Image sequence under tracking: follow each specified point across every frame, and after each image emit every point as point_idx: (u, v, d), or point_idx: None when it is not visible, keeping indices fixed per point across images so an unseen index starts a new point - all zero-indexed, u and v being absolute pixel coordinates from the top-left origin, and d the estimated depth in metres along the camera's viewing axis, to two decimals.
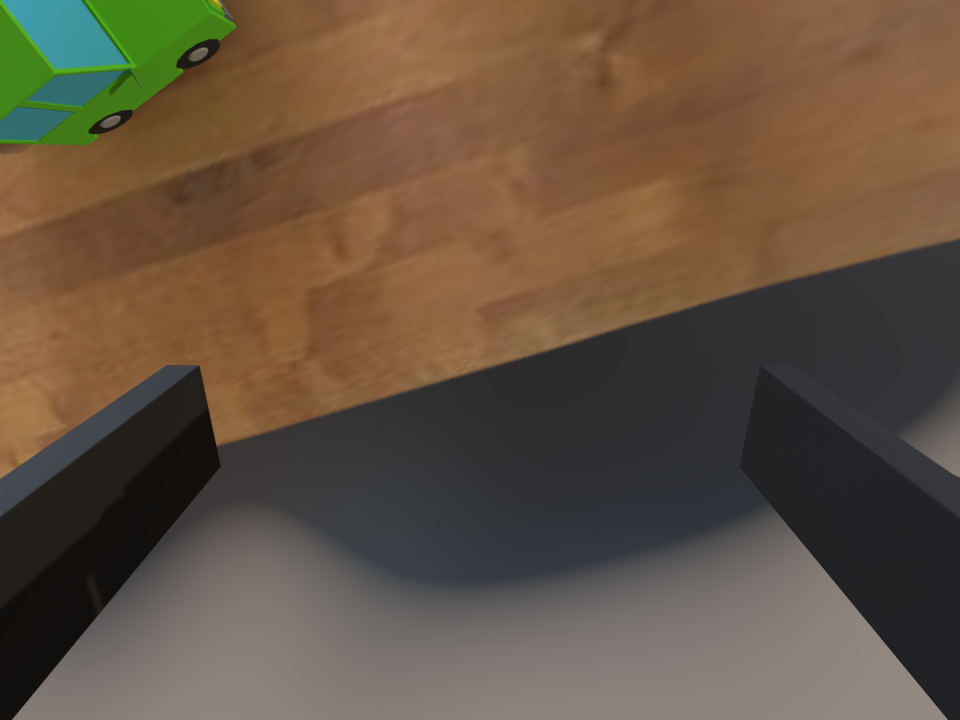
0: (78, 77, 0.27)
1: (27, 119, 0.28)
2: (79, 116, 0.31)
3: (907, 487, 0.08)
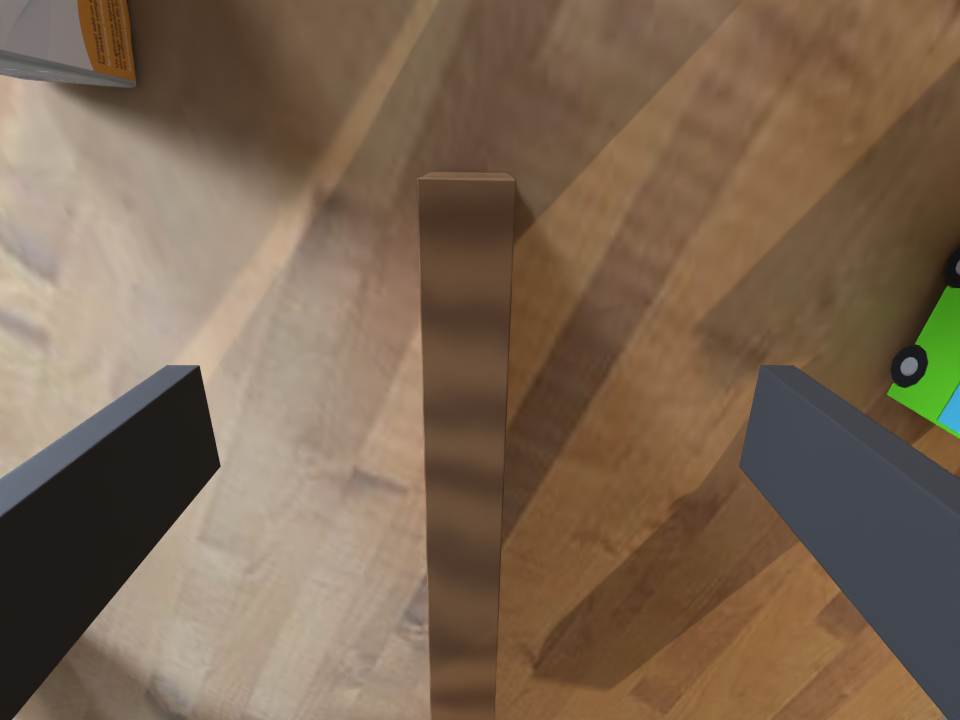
0: None
1: None
2: None
3: (907, 487, 0.08)
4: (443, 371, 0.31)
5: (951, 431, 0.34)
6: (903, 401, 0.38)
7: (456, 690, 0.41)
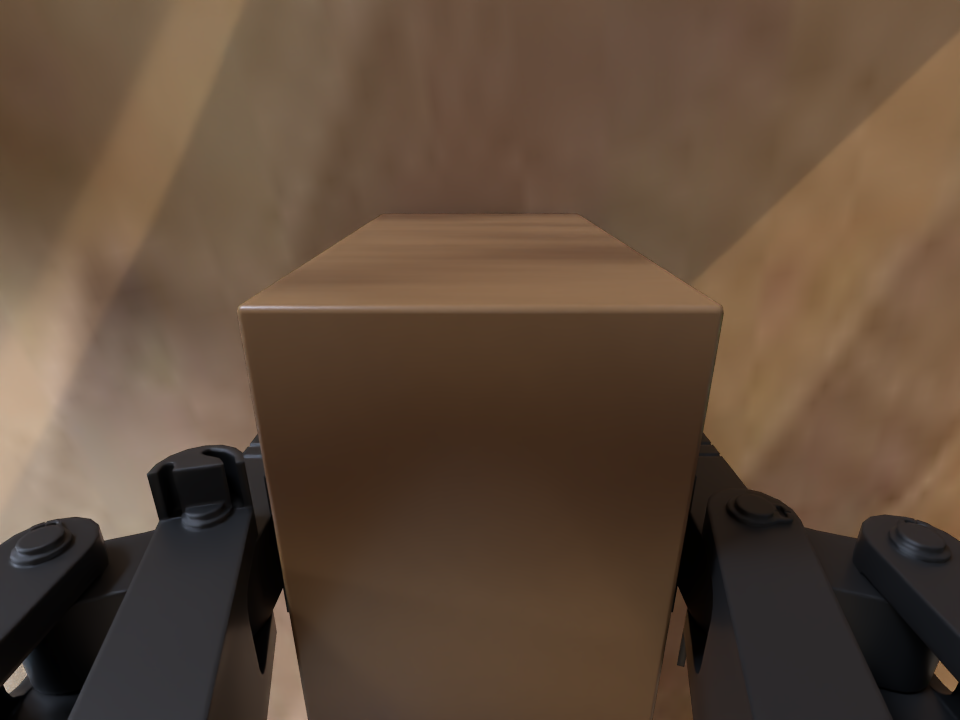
0: None
1: None
2: None
3: None
4: None
5: None
6: None
7: None
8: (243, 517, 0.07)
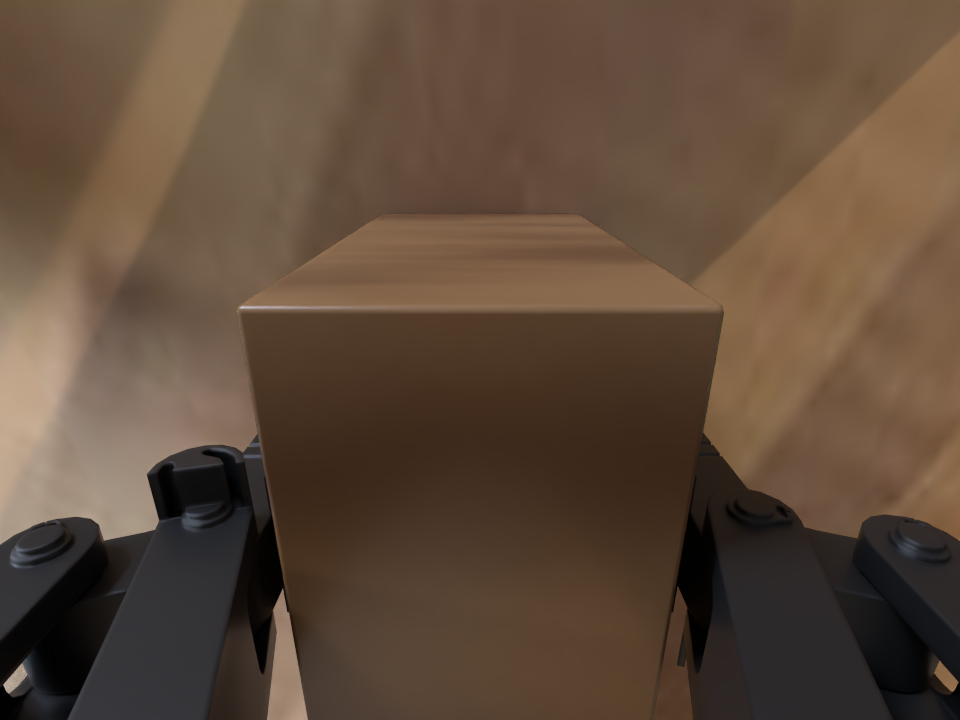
0: None
1: None
2: None
3: None
4: None
5: None
6: None
7: None
8: (243, 517, 0.07)
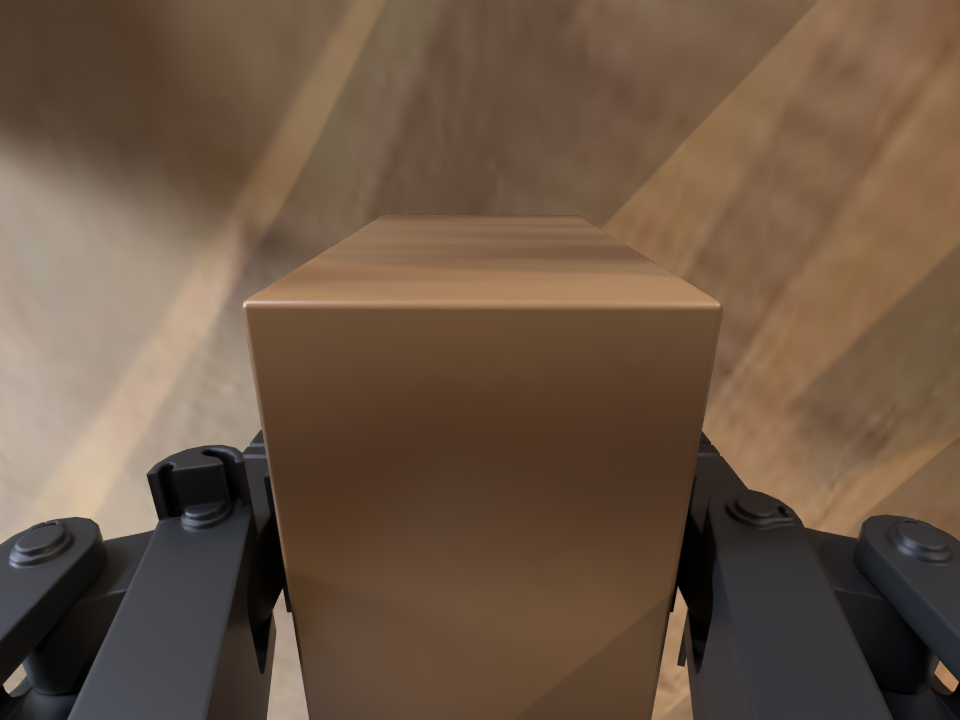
0: None
1: None
2: None
3: None
4: None
5: None
6: None
7: None
8: (242, 517, 0.07)
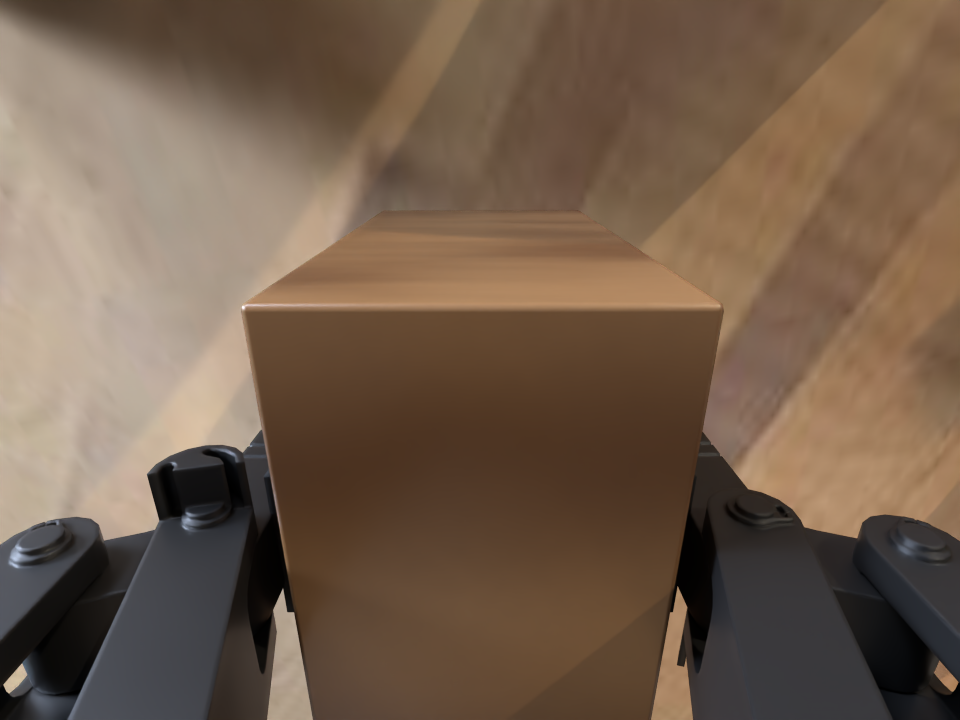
0: None
1: None
2: None
3: None
4: None
5: None
6: None
7: None
8: (243, 517, 0.07)
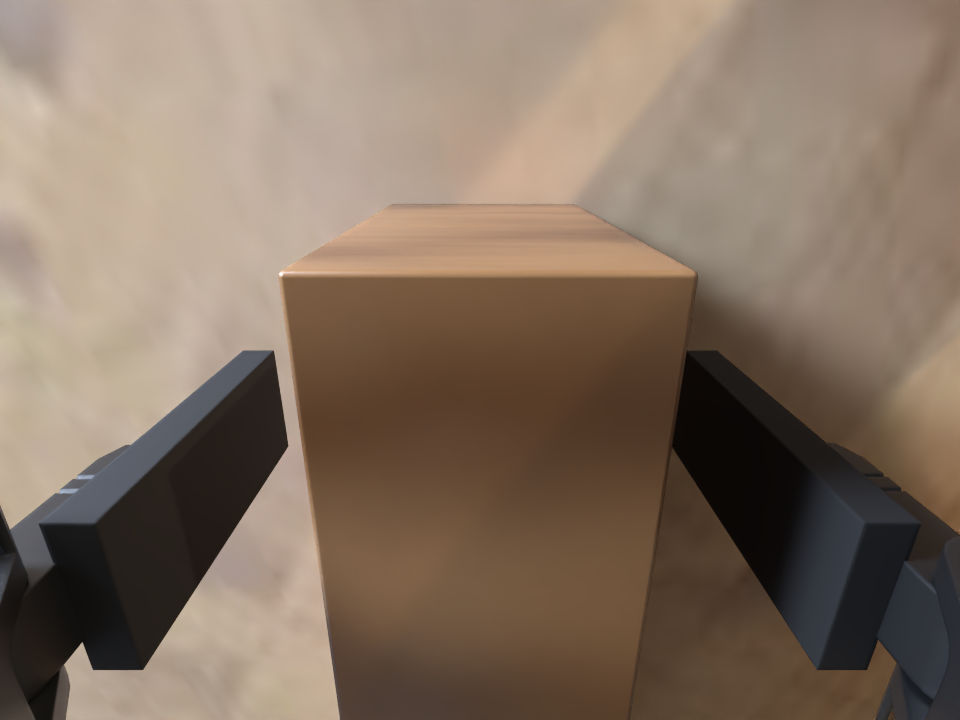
0: None
1: None
2: None
3: (783, 453, 0.09)
4: None
5: None
6: None
7: None
8: (3, 566, 0.06)
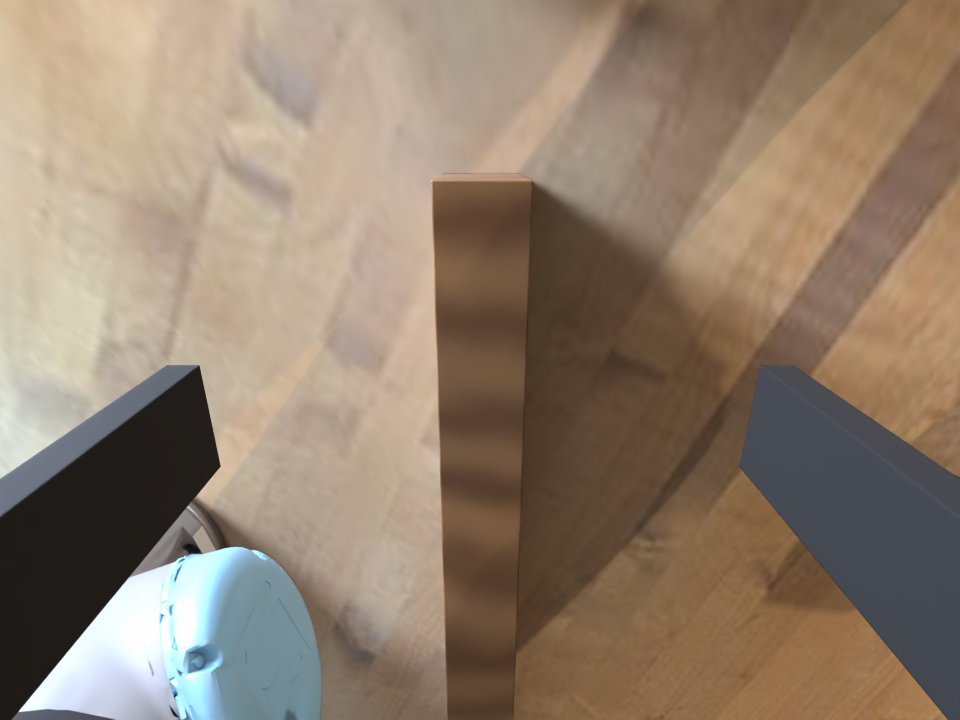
0: None
1: None
2: None
3: (907, 487, 0.08)
4: (459, 378, 0.30)
5: None
6: None
7: (474, 702, 0.40)
8: None
